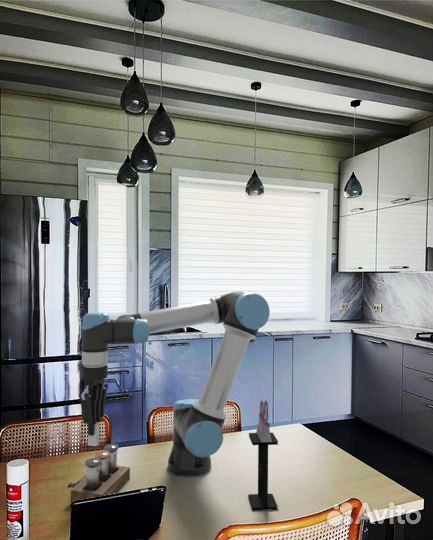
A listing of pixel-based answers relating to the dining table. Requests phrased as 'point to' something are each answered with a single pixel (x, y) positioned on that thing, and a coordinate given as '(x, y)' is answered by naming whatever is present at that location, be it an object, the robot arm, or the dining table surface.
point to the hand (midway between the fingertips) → (93, 444)
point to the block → (102, 485)
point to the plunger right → (112, 457)
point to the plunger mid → (103, 464)
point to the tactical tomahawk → (77, 481)
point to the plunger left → (92, 473)
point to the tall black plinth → (263, 462)
